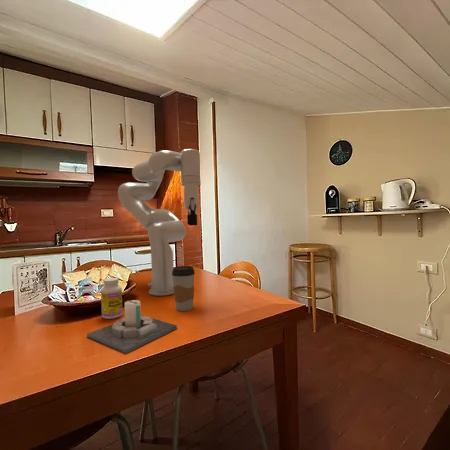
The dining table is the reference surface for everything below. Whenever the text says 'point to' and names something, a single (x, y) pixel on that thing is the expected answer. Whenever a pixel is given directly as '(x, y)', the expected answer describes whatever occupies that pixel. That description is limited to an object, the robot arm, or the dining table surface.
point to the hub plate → (129, 342)
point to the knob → (132, 313)
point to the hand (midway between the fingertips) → (192, 224)
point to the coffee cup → (183, 287)
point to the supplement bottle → (111, 299)
